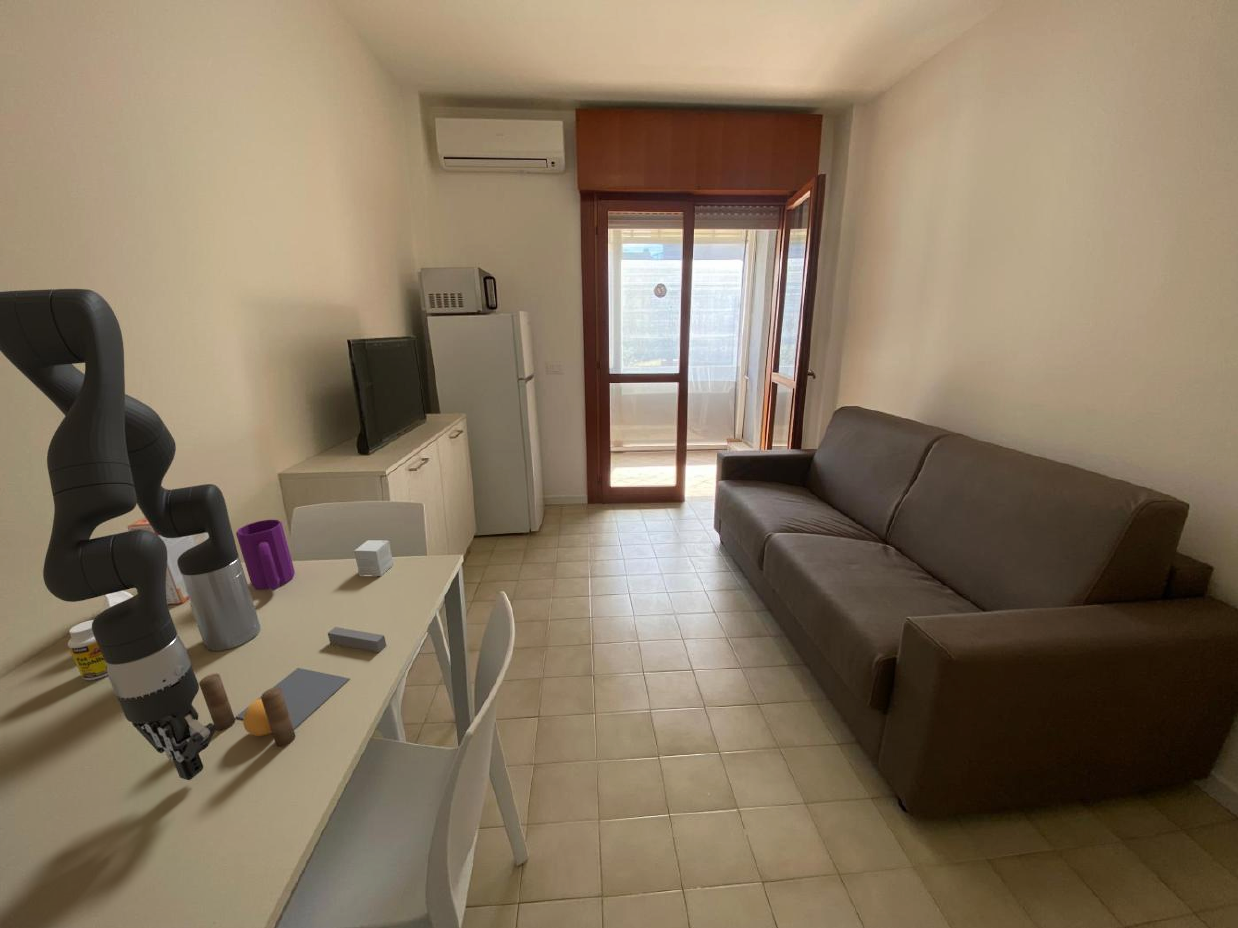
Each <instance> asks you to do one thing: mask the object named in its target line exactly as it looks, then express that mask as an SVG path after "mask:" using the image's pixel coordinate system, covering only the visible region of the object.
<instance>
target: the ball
mask: <svg viewBox="0 0 1238 928" xmlns="http://www.w3.org/2000/svg"><path fill="white" fill-rule="evenodd" d="M242 724H243V725H242V726H243V728H244V730H245V731H246V732H247V733H248V734H250V735H252V736H256V737H257V736H258V737H262V736H266V735H269V734H272V731H271V728H270V725H269V722H268V718H267V715H266V712H265V709H264V706H263V703H262V700H261V699H259V698H257V701H256V700H254V702H252V704H250V705H249V706H248V709H247V710H246V712H245V714H244V718H243V719H242Z"/></svg>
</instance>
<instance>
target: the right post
mask: <svg viewBox="0 0 1238 928" xmlns="http://www.w3.org/2000/svg"><path fill="white" fill-rule="evenodd" d="M260 697H261V700H262V703H263V706H264V709H265V712H266V715H267V718H268V722H269V725H270V728H271V731H272V732H271V734H272V736H273V739H274V743H275V746H277V747H278V748H282V747H285V746H288V745H289V744H291V743H293V742H294V740H295V738H296V733H295V730H294V729H293V726H292V723H291V720H290V716H289V713H288V710H287V706H286V703H285V700H284V696H283V693H282V690H281V688H279V687H275V688H273V687H271V688H269V689H267V690H265V691H264V692H263V693H262V694H261V696H260Z"/></svg>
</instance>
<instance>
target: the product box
mask: <svg viewBox="0 0 1238 928" xmlns="http://www.w3.org/2000/svg"><path fill="white" fill-rule="evenodd" d="M391 551H392V550H391V547H390V541H389V540H380V539H379V540H378V539H377V540H371V539H367V540H366V541H365V542H364V543H362V544H361V545H360V546H359V547H357V548H356V549H355V550H354V551H353V553H354V556H355V557H354V558H355V561H356V564H357V565H356V566H357V570H358V571H357V572H358V575H359V576H360V575H372V576H371V577H377V576H381V577H383V576H384V575H385V574H386V573H387V572H388V571H389V570H390V569H391V568H392V567H393V566H394V560H393V556H392V552H391ZM391 566H392V567H391ZM390 567H391V568H390ZM389 568H390V569H389ZM388 569H389V570H388ZM386 571H387V572H386ZM383 574H384V575H383ZM382 575H383V576H382Z"/></svg>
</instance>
